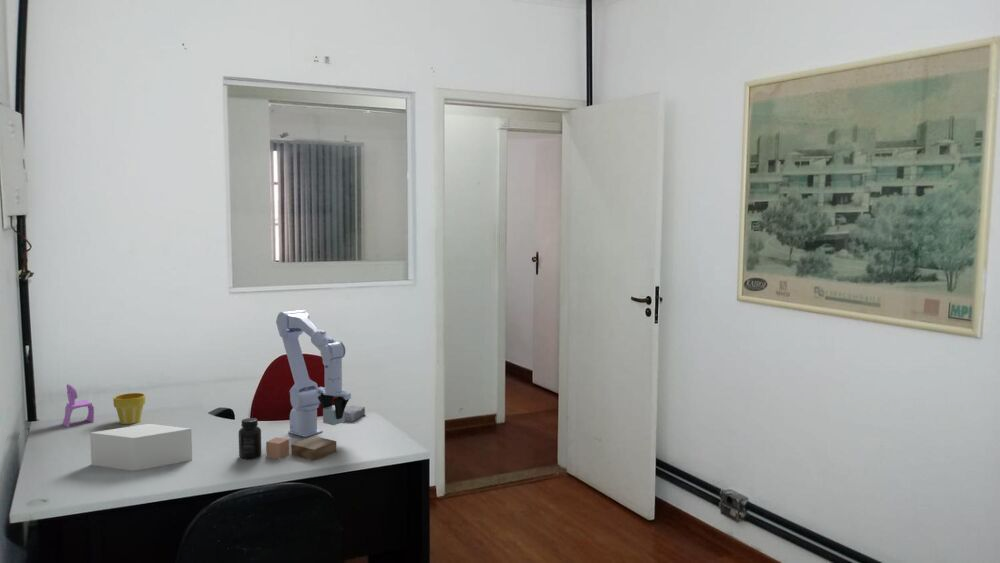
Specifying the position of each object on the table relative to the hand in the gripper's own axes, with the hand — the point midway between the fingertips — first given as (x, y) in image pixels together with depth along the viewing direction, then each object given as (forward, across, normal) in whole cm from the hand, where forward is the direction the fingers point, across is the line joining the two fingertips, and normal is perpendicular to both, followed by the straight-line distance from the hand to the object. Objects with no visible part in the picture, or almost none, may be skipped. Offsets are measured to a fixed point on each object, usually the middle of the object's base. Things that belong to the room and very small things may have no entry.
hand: (333, 417), depth 236 cm
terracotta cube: (+9, -5, -19) cm, 22 cm away
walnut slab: (+9, +3, -11) cm, 15 cm away
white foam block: (+9, -34, -48) cm, 59 cm away
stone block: (+9, -19, +25) cm, 32 cm away
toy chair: (+9, -91, -39) cm, 100 cm away
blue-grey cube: (+2, 0, 0) cm, 2 cm away
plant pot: (+9, -78, -27) cm, 83 cm away
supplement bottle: (+9, -11, -25) cm, 29 cm away
